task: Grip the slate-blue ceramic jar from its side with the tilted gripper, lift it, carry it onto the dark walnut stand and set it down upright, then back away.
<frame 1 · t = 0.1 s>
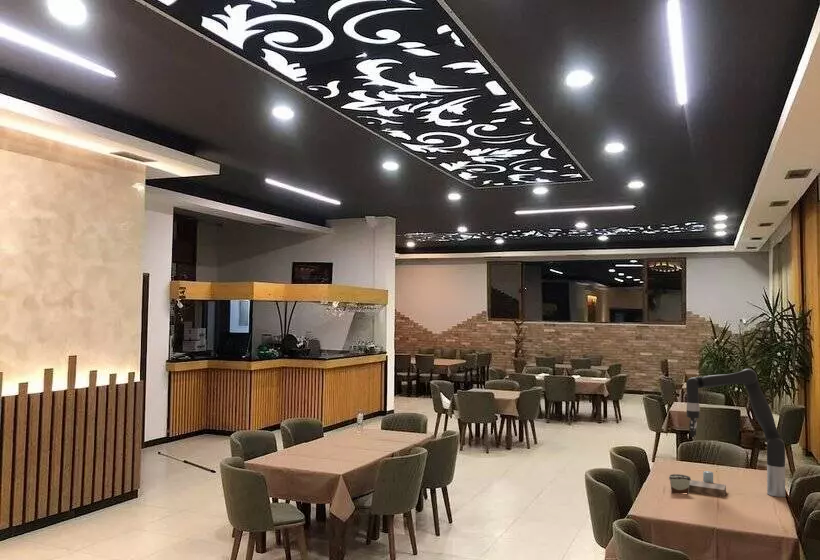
hand: (693, 436, 399), 29 cm above the table, tool pointing down, fingers open, 8 cm apart
walnut stand: (706, 491, 380), on the table
food container: (678, 492, 376), on the table
ceramic jar: (708, 487, 390), on the table
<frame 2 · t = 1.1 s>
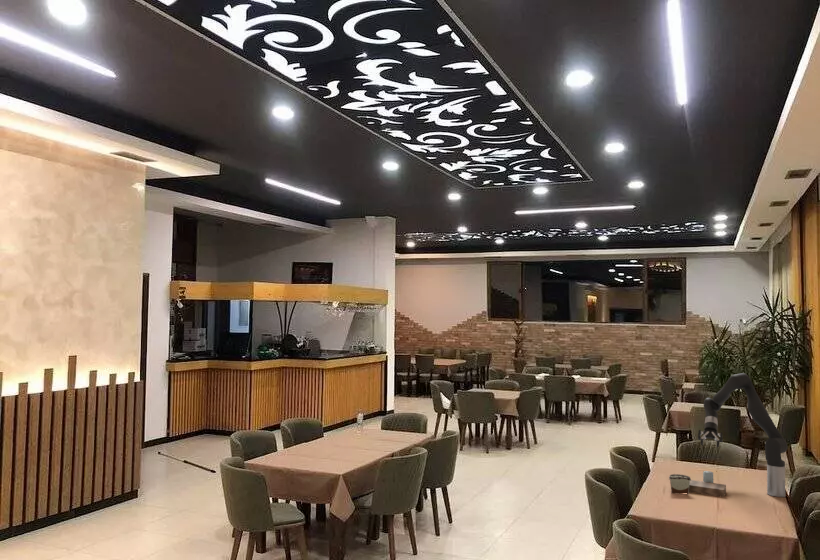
hand: (709, 445, 402), 23 cm above the table, tool tilted 45°, fingers open, 8 cm apart
nothing on the table moved.
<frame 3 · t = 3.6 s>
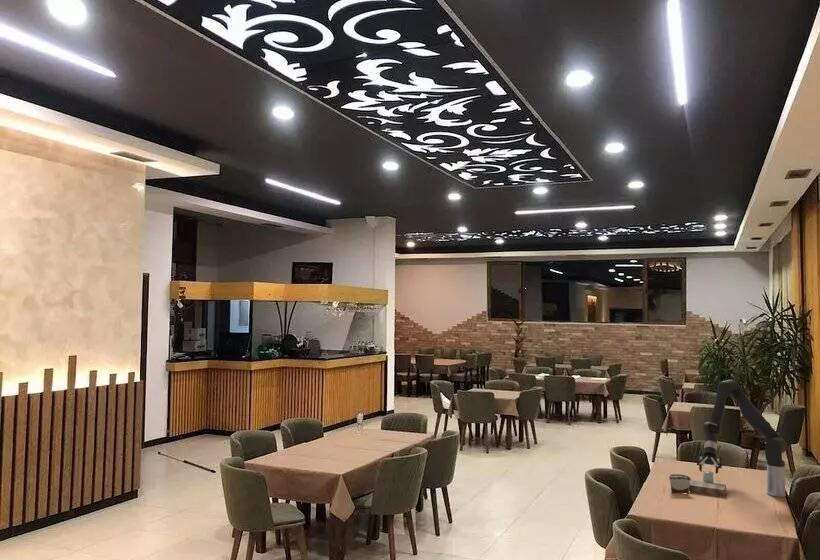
hand: (708, 471, 393), 8 cm above the table, tool tilted 45°, fingers open, 8 cm apart
nothing on the table moved.
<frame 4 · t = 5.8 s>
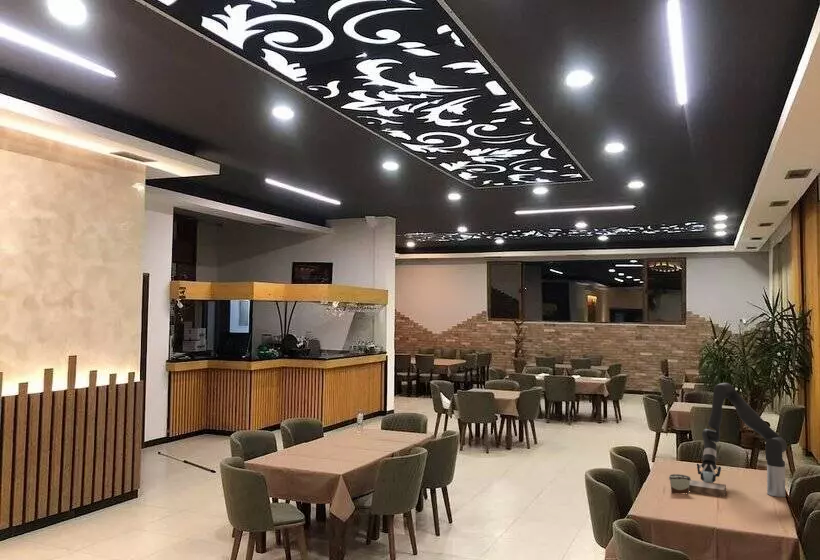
hand: (707, 480, 389), 4 cm above the table, tool tilted 45°, fingers closed on ceramic jar, 5 cm apart
ceramic jar: (708, 487, 390), on the table, touching gripper
everything else where it was.
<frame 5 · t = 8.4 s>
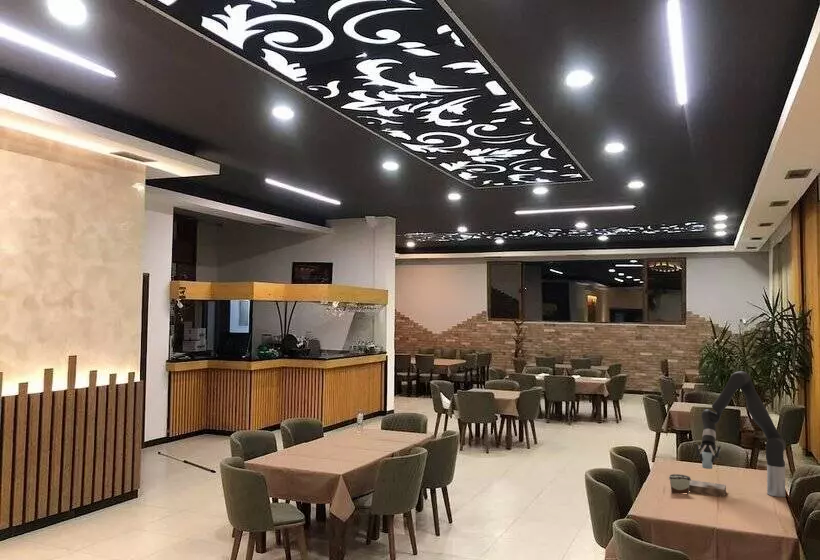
hand: (707, 461, 385), 17 cm above the table, tool tilted 45°, fingers closed on ceramic jar, 5 cm apart
ceramic jar: (707, 467, 386), point 13 cm above the table, touching gripper
everything else where it was.
when the fingers open (10 cm above the table, at t = 11.2 s): ceramic jar drops 1 cm, resting on walnut stand.
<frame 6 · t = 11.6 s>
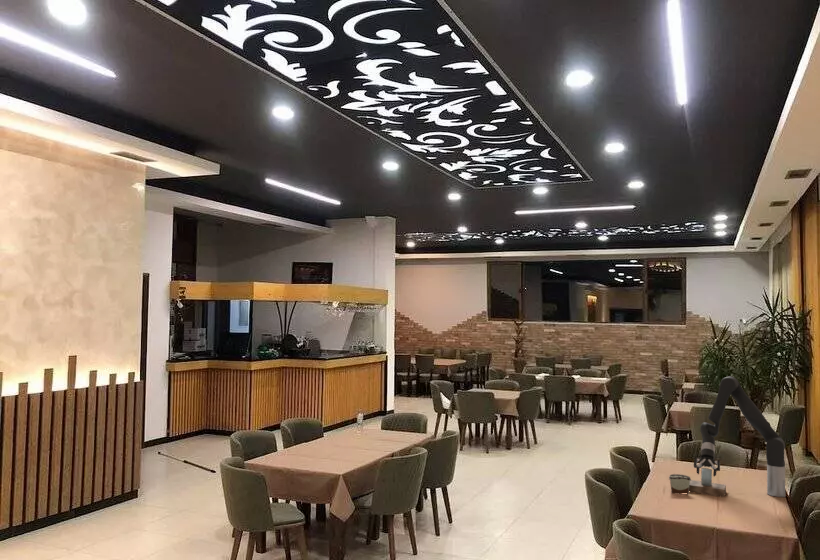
hand: (706, 474, 379), 10 cm above the table, tool tilted 45°, fingers open, 8 cm apart
ceramic jar: (706, 484, 380), point 4 cm above the table, touching walnut stand
everything else where it was.
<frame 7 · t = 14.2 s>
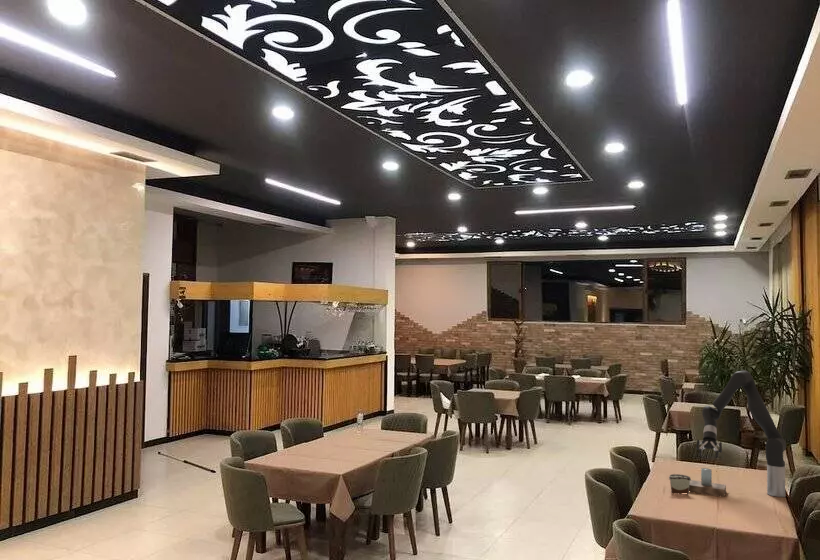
hand: (708, 456, 388), 19 cm above the table, tool tilted 45°, fingers open, 8 cm apart
nothing on the table moved.
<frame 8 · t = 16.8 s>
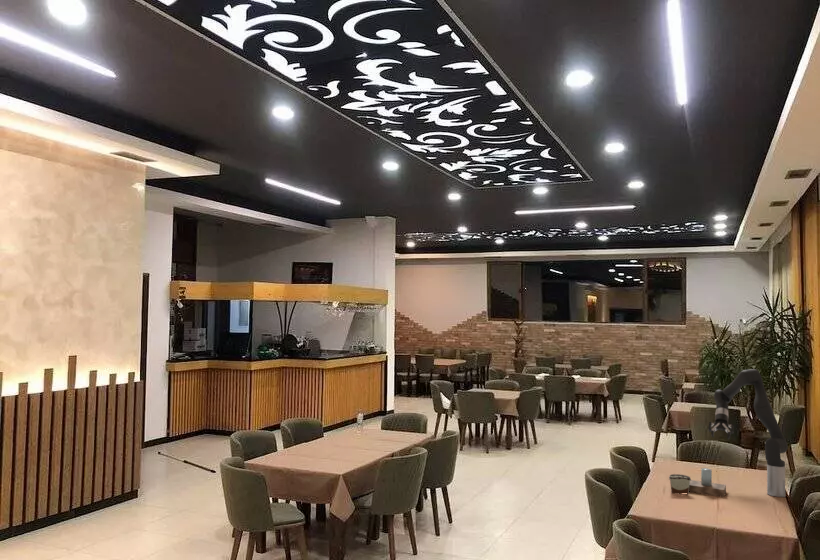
hand: (720, 437, 400), 29 cm above the table, tool tilted 45°, fingers open, 8 cm apart
nothing on the table moved.
at the end: ceramic jar inside the target area on the walnut stand (0.1 cm from its centre), point 4.0 cm above the walnut stand's base; ceramic jar tilted 0°; the gripper is holding nothing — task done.
